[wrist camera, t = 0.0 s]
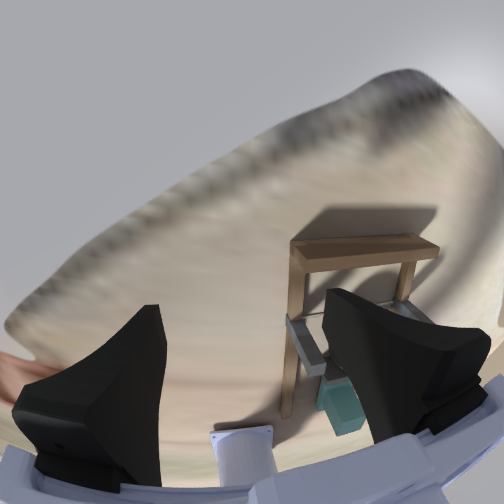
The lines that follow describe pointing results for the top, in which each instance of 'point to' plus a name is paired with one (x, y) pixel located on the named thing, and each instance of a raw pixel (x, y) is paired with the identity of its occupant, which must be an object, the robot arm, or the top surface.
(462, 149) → the top surface
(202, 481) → the top surface
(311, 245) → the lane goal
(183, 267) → the top surface
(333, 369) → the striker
